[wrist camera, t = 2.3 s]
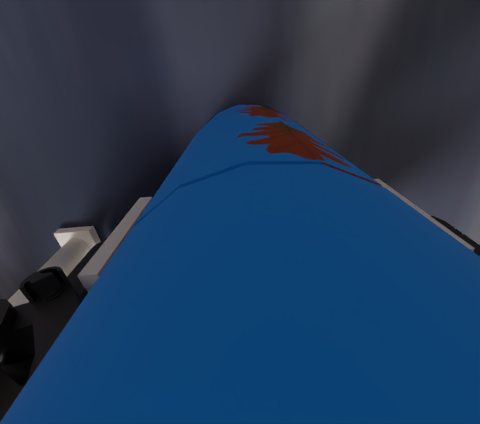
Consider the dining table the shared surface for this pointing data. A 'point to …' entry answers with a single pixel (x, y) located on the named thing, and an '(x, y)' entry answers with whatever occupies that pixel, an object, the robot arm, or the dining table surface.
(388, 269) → the thermos
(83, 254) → the gate posts
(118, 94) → the dining table surface
